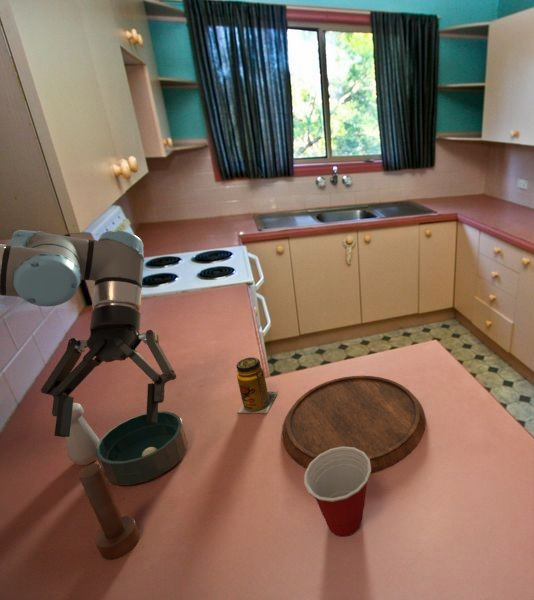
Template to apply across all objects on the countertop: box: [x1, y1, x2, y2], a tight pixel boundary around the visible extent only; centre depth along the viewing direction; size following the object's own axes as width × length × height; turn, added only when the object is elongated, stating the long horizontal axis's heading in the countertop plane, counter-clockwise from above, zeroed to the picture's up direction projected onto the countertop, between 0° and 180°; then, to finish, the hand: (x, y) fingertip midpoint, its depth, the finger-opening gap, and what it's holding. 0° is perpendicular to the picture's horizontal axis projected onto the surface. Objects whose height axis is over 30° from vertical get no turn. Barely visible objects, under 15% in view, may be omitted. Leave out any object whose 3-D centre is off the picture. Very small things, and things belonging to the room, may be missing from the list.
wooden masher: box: [77, 463, 141, 561], centre depth 67 cm, size 6×6×16 cm
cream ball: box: [142, 447, 157, 457], centre depth 86 cm, size 3×3×3 cm
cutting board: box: [281, 375, 426, 475], centre depth 96 cm, size 32×32×2 cm
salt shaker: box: [55, 402, 100, 466], centre depth 86 cm, size 6×6×13 cm
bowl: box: [96, 410, 189, 486], centre depth 87 cm, size 15×15×6 cm
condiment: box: [236, 356, 279, 414], centre depth 102 cm, size 7×8×12 cm
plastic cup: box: [303, 447, 372, 538], centre depth 70 cm, size 11×11×12 cm
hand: (107, 429), depth 71 cm, fingers open, 13 cm apart
